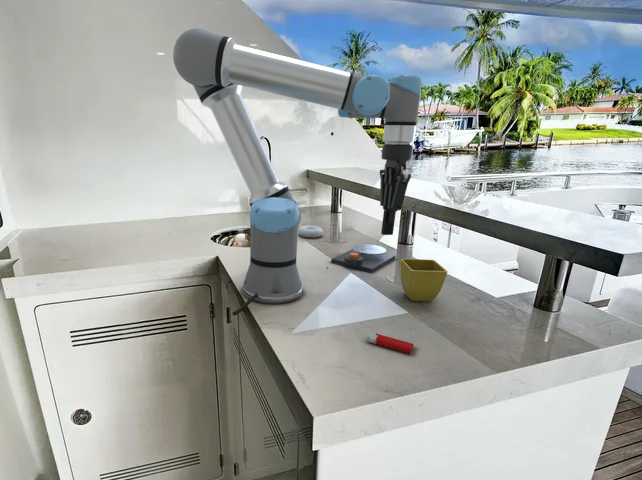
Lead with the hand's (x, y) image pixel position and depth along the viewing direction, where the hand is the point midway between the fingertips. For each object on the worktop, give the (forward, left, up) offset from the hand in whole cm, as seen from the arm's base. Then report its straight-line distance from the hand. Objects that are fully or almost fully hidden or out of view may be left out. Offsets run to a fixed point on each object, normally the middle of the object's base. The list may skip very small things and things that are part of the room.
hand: (386, 234), depth 104 cm
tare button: (+5, +12, -11) cm, 17 cm away
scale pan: (+15, +12, -11) cm, 22 cm away
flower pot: (-6, -12, -14) cm, 19 cm away
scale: (+12, +12, -14) cm, 22 cm away
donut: (+27, +43, -14) cm, 52 cm away
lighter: (-33, -16, -14) cm, 39 cm away
